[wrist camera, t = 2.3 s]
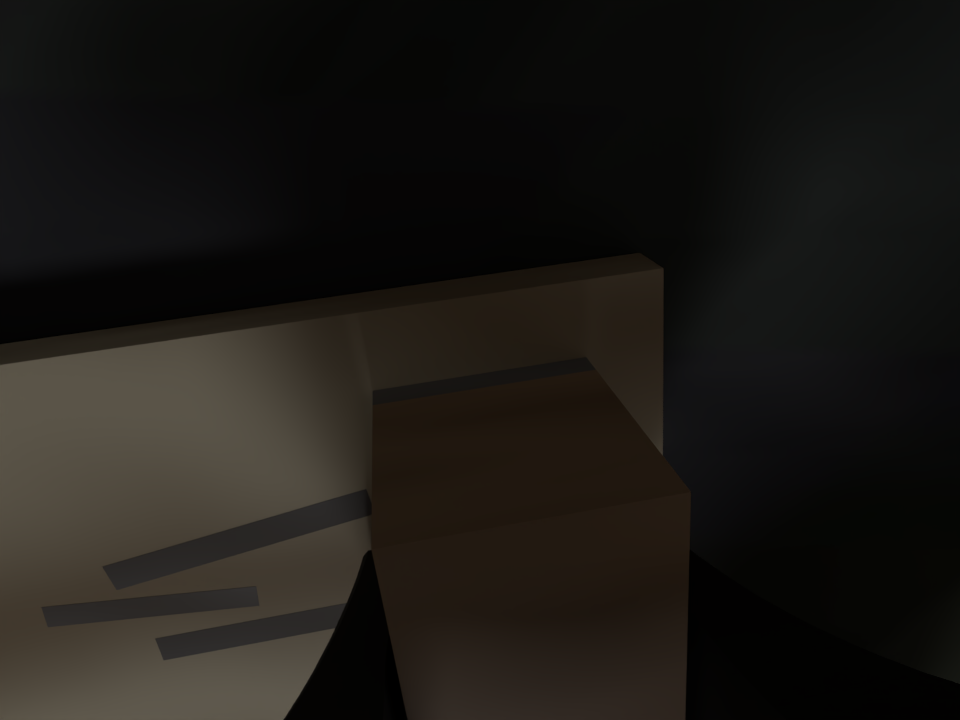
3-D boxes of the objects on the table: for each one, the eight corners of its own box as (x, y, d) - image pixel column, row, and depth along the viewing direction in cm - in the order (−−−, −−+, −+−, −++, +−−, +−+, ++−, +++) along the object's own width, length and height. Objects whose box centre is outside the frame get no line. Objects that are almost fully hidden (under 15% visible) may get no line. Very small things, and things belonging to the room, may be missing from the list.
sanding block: (600, 669, 16) (680, 878, 11) (431, 703, 15) (452, 932, 11) (586, 356, 12) (690, 491, 8) (373, 390, 12) (371, 549, 8)
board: (644, 689, 18) (661, 730, 17) (18, 818, 16) (-8, 871, 15) (639, 252, 13) (663, 268, 12) (-242, 378, 12) (-307, 409, 11)
